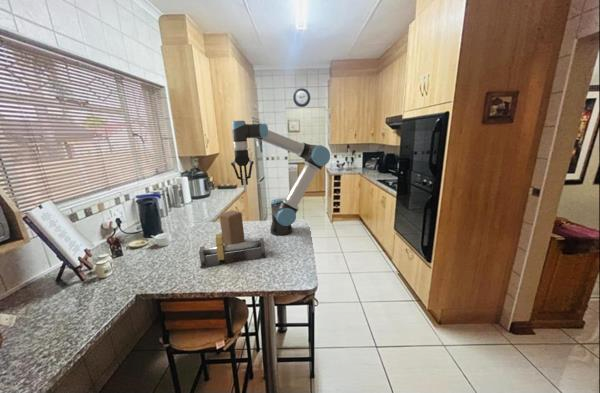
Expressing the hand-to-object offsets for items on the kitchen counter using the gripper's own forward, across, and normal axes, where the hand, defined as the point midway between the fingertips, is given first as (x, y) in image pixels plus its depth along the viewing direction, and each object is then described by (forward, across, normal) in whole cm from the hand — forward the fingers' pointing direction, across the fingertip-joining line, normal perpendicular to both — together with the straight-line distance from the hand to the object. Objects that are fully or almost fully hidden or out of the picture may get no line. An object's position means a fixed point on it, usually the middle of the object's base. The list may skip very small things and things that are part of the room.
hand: (245, 190), depth 144 cm
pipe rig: (+34, +10, +14) cm, 38 cm away
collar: (+33, +17, +14) cm, 39 cm away
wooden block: (+35, +10, -6) cm, 37 cm away
